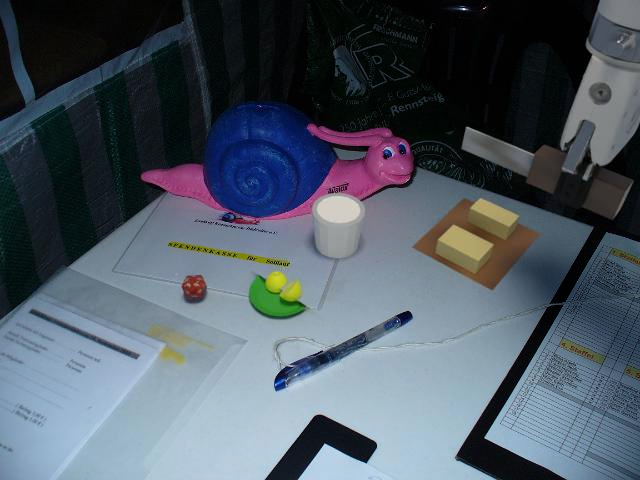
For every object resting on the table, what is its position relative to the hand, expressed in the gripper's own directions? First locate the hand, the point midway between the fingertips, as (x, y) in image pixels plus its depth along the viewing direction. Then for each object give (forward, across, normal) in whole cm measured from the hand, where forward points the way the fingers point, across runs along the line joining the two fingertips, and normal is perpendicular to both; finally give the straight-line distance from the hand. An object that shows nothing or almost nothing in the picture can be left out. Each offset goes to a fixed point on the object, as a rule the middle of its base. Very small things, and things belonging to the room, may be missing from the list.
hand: (572, 194), depth 66 cm
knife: (0, 0, +5) cm, 5 cm away
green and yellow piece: (+15, -23, +24) cm, 36 cm away
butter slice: (+14, +5, +10) cm, 18 cm away
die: (+15, -30, +32) cm, 46 cm away
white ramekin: (+15, -12, +24) cm, 30 cm away
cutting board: (+15, +2, +10) cm, 18 cm away
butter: (+14, -2, +10) cm, 17 cm away
